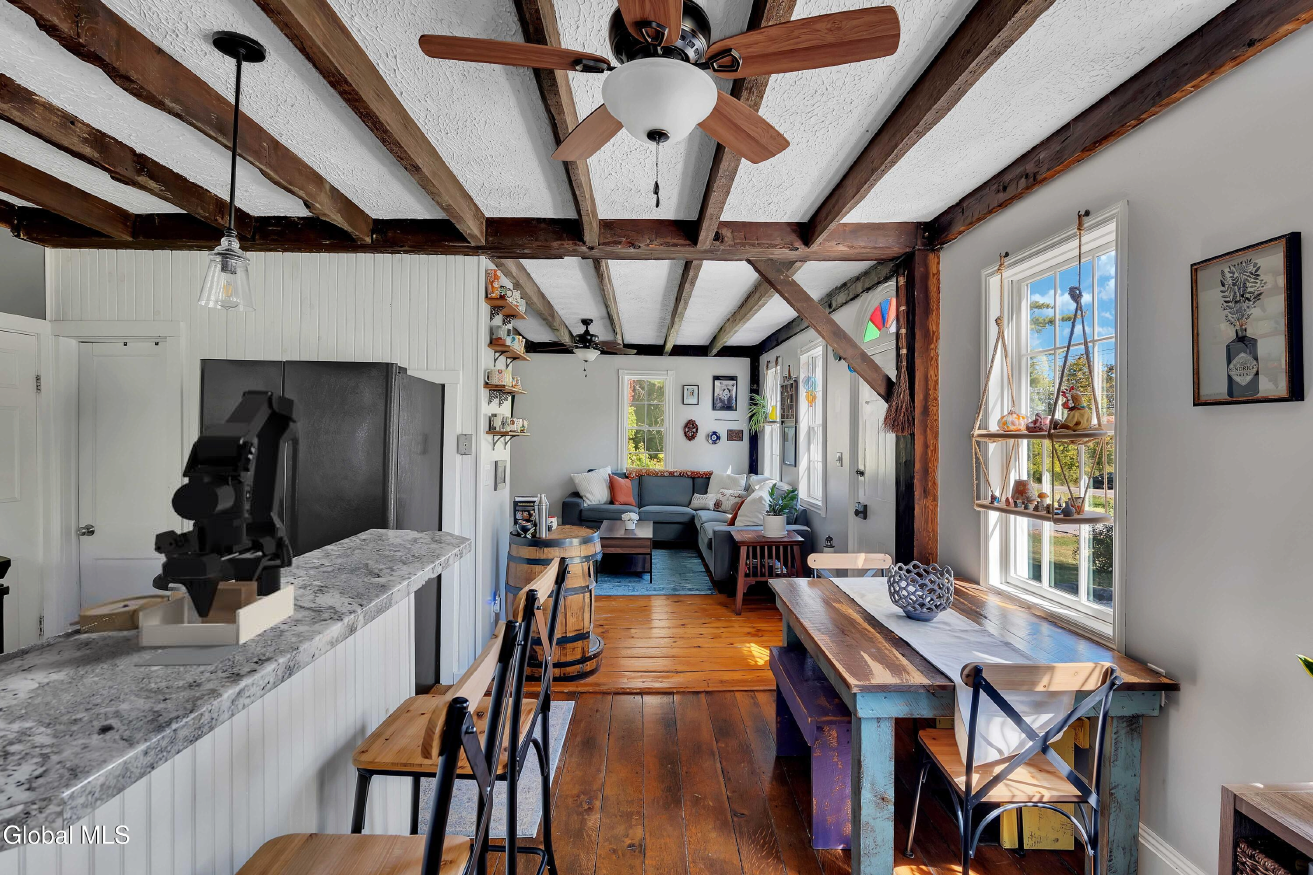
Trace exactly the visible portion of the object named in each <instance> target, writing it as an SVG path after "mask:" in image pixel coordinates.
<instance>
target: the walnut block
mask: <svg viewBox="0 0 1313 875" xmlns="http://www.w3.org/2000/svg"><path fill="white" fill-rule="evenodd" d="M187 594H188V593H187ZM256 601H257V582H235V581H220V582H219V585H218V588H217V592H216V595H215V598H214V601H213V604H212V608H211V610H210V613H209V615H208V617H206V618H200V617H199V616H198V614H197V612H196V609H195V607H194V605H193V602H192V600H191V598H190V596H189V594H188V615H187V624H236V611H238V610H240V609H242V608H244V607H246V606H248V605H250V604H252V603H254V602H256Z"/></svg>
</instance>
